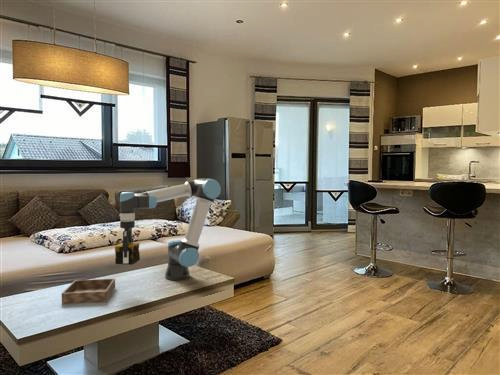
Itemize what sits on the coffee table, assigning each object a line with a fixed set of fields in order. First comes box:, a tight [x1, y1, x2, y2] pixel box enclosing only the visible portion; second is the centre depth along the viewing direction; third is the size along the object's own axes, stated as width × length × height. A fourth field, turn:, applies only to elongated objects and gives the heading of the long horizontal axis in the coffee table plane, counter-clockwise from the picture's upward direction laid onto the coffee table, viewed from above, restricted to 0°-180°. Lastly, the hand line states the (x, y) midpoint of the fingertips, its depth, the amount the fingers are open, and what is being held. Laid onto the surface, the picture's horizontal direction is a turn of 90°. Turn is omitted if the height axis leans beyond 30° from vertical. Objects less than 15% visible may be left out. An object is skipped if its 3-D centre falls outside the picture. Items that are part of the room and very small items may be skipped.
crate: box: [61, 278, 116, 305], centre depth 202 cm, size 22×22×6 cm
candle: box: [114, 242, 141, 266], centre depth 205 cm, size 10×10×10 cm
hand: (127, 260), depth 205 cm, fingers closed on candle, 11 cm apart
